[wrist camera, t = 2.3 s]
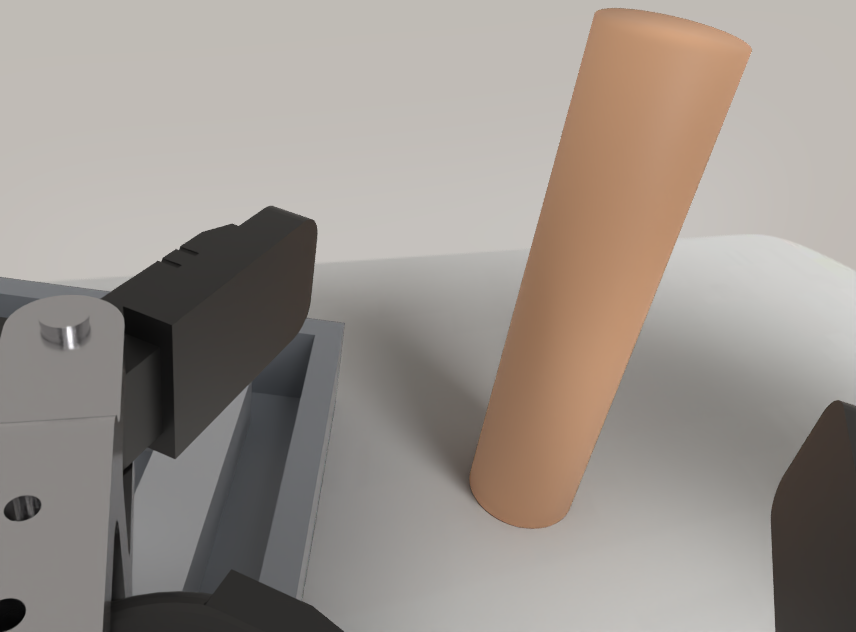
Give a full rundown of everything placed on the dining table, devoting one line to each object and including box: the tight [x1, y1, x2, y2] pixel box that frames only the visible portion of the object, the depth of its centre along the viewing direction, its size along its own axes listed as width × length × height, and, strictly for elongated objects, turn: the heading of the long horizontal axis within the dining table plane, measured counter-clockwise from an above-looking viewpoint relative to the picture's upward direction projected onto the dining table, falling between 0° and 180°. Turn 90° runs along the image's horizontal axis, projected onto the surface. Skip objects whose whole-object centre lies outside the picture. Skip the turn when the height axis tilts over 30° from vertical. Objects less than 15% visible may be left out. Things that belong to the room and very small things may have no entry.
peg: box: [469, 8, 752, 529], centre depth 24 cm, size 4×4×17 cm
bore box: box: [0, 277, 345, 601], centre depth 23 cm, size 16×15×4 cm
